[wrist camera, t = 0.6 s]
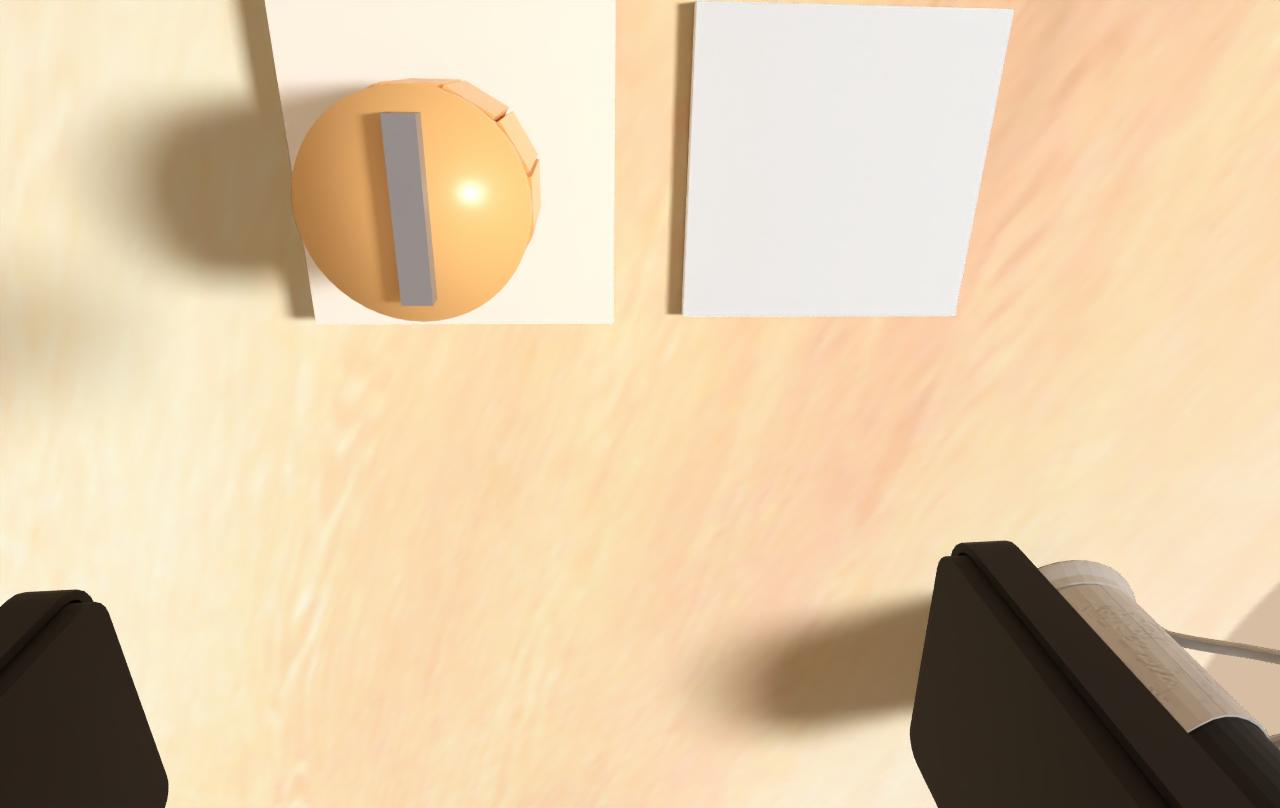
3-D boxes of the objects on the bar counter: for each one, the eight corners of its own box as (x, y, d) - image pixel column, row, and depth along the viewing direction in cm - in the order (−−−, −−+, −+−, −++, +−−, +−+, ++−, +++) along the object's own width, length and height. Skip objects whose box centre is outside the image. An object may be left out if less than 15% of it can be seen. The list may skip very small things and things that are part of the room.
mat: (694, 1, 29) (696, 0, 28) (1006, 10, 29) (1014, 9, 29) (681, 312, 34) (683, 316, 33) (948, 312, 34) (954, 315, 34)
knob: (333, 76, 25) (261, 82, 20) (536, 80, 26) (524, 86, 20) (359, 274, 28) (303, 329, 22) (543, 274, 28) (533, 328, 23)
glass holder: (964, 593, 41) (1154, 860, 27) (1230, 502, 40) (1569, 735, 26) (991, 705, 45) (1173, 992, 31) (1237, 626, 43) (1539, 887, 30)
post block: (278, -10, 28) (159, -36, 20) (613, -1, 28) (625, -23, 21) (327, 313, 32) (247, 393, 25) (612, 312, 33) (621, 389, 26)
